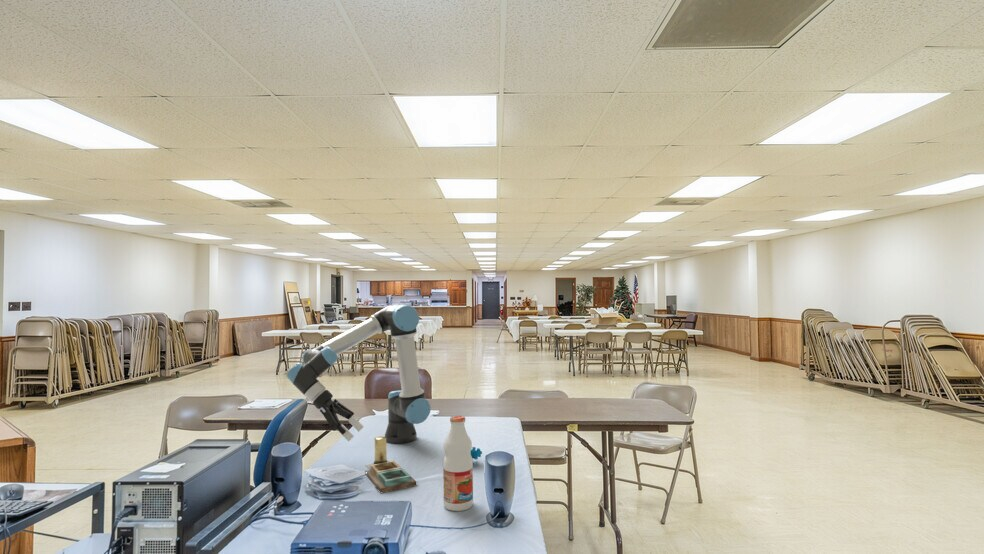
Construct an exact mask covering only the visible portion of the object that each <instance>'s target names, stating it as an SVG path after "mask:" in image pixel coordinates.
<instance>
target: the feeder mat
mask: <svg viewBox="0 0 984 554" xmlns="http://www.w3.org/2000/svg"><path fill="white" fill-rule="evenodd" d="M387 462H390V460H387ZM373 464H374V463H370V464H365V465H364V466H365V467H366V468H367V469H368V470H370V465H373Z"/></svg>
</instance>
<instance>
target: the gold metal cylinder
mask: <svg viewBox="0 0 984 554" xmlns="http://www.w3.org/2000/svg"><path fill="white" fill-rule="evenodd" d="M387 443H388V442H387V438H386V437H385V436H384V435H383V436H377V437H375V438H374V461H373V464H379V463H384V462H387V461H388V460H387V458H388V457H387V453H388V452H387V451H388V450H387V447H388V445H387Z"/></svg>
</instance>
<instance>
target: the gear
mask: <svg viewBox="0 0 984 554" xmlns="http://www.w3.org/2000/svg"><path fill="white" fill-rule="evenodd" d="M482 454H483V451H482V450H481V449H480V448H479V447H478V448H476V447H475V446H472V449H471V457H472V461H473V459H475V460H478V458H481V457H482Z"/></svg>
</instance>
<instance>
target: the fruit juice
mask: <svg viewBox="0 0 984 554" xmlns="http://www.w3.org/2000/svg"><path fill="white" fill-rule="evenodd" d="M465 423H466V417H465V416H464V415H453V416H450V417H449V424H450V429H449V432H448V435H447V436H446V438H445V440H444V442H443V450H444V457H443V464H442V465H443V505H444V508H445V509H446V510H448V511H452V512H462V511H466V510H469V509H471V507H473V505H474V504H473V503H474V487H473V485H474V479H473V478H474V475H473V471H474V470H473V468H474V467H473V465H474V464H473V460H472V457H471V450H472V447H473V442H472V439H471V438H470V436H469V435H468V433H467V431H466V430H467V429H466V427H465Z"/></svg>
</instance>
